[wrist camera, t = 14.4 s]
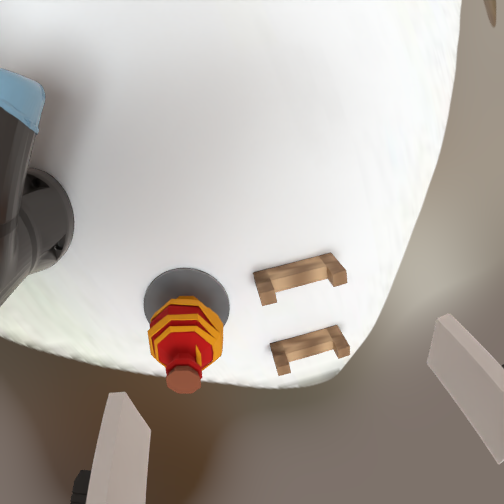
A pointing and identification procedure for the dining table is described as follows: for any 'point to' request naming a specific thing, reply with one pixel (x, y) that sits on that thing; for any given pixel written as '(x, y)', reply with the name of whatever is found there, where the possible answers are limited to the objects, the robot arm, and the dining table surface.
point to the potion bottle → (185, 341)
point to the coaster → (186, 291)
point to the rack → (295, 277)
